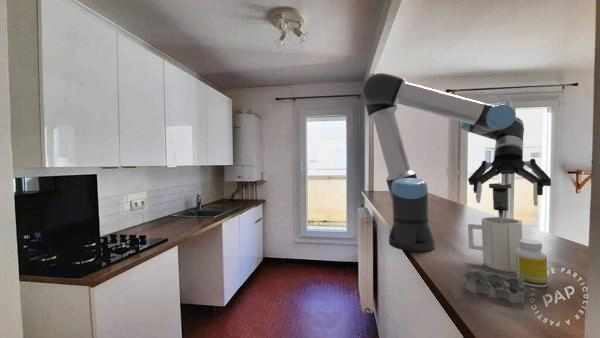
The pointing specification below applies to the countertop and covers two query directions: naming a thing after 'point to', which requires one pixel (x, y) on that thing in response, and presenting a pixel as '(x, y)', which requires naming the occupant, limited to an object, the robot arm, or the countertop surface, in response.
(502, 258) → the white paneled mug
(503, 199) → the plunger
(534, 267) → the supplement bottle
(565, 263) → the countertop surface
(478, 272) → the egg carton
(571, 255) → the countertop surface
